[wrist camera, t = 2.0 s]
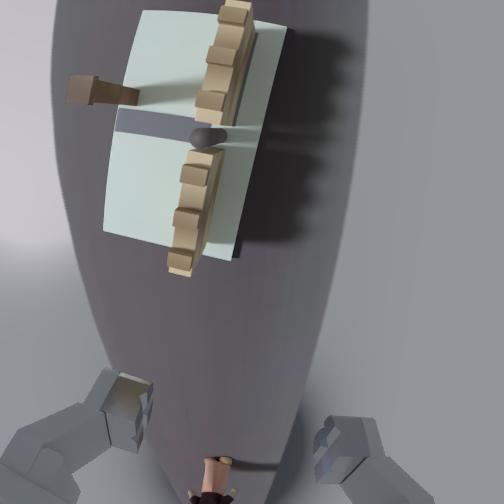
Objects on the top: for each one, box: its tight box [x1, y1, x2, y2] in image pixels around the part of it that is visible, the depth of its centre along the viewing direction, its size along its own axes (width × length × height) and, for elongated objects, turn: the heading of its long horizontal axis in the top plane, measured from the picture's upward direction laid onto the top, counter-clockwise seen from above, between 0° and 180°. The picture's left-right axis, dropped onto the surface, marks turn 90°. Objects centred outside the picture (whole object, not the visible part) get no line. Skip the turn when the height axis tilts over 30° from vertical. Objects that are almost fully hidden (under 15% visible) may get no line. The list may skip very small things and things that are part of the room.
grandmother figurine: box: [188, 457, 239, 504], centre depth 35 cm, size 8×4×13 cm, turn 119°
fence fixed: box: [190, 0, 255, 149], centre depth 18 cm, size 10×2×7 cm, turn 167°
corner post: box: [65, 75, 140, 106], centre depth 18 cm, size 2×2×8 cm
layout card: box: [103, 10, 287, 261], centre depth 23 cm, size 20×12×1 cm, turn 167°
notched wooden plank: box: [167, 146, 226, 277], centre depth 21 cm, size 8×2×7 cm, turn 167°
